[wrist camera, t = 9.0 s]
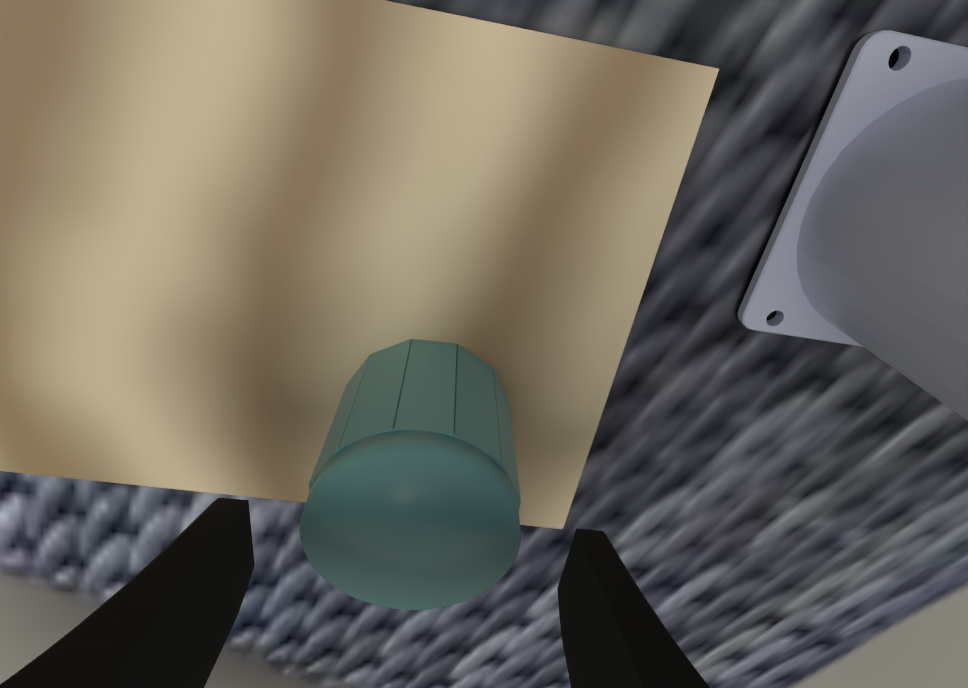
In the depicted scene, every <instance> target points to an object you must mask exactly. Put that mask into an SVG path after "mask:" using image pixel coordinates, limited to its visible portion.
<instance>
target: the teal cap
mask: <svg viewBox="0 0 968 688" xmlns="http://www.w3.org/2000/svg"><path fill="white" fill-rule="evenodd" d="M520 505H521V497H520V489H519V481H518V473H517V464H516V456H515V448H514V440H513V431H512V423H511V415H510V407H509V401H508V398H507V396H506V394H505V392H504V390H503V388H502V385H501V383H500V381H499V379H498V377H497V374H496V372H495V370H494V368H493V367H492V366H490V365H489V364H487V363H486V362H484V361H483V360H481V359H480V358H478V357H477V356H475V355H474V354H472V353H471V352H469V351H468V350H466V349H465V348H463V347H462V346H460V345H459V344H458V345H457V344H455V343H446V342H437V341H429V340H420V339H412V340H411V339H409V340H407V341H404V342H401V343H399V344H396V345H393V346H391V347H388V348H385V349H383V350H380V351H377V352H375V353H372V354H371V355H369V356H368V358H367V359H366V360H365V362H364V363H363V364H362V365H361V367H360V368H359V369H358V371H357V372H356V373H355V374H354V376H353V377H352V378H351V379H350V381H349V382H348V383H347V385H346V387H345V390H344V393H343V395H342V398H341V401H340V403H339V406H338V408H337V411H336V414H335V416H334V419H333V422H332V424H331V427H330V429H329V432H328V435H327V437H326V440H325V443H324V445H323V448H322V450H321V453H320V456H319V458H318V461H317V463H316V466H315V469H314V471H313V474H312V477H311V479H310V482H309V495H308V498H307V500H306V503H305V506H304V509H303V512H302V516H301V519H300V538H301V543H302V546H303V550H304V552H305V554H306V556H307V558H308V560H309V562H310V563H311V564H312V566H313V567H314V568H315V570H316V571H317V572H318V573H319V574H320V575H321V576H322V577H323V578H324V579H325V580H326V581H328V582H329V583H330V584H331V585H333V586H334V587H336V588H337V589H339V590H340V591H342V592H344V593H346V594H348V595H350V596H352V597H354V598H356V599H359V600H362V601H364V602H367V603H371V604H374V605H378V606H383V607H388V608H395V609H405V610H422V609H434V608H440V607H445V606H450V605H454V604H457V603H460V602H463V601H466V600H468V599H471V598H473V597H475V596H477V595H479V594H481V593H483V592H484V591H486V590H488V589H489V588H490V587H492V586H493V585H494V584H496V583H497V582H498V581H499V580H500V579H501V578H502V577H503V576H504V575H505V574H506V573H507V571H508V570H509V569H510V567H511V566H512V564H513V562H514V560H515V558H516V556H517V553H518V550H519V547H520V540H521V528H520V519H519V509H520Z"/></svg>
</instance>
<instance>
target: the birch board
mask: <svg viewBox="0 0 968 688" xmlns="http://www.w3.org/2000/svg"><path fill="white" fill-rule="evenodd" d="M718 71H719V69H717V68H712V67H707V66H703V65H698V64H693V63H688V62H683V61H678V60H673V59H668V58H664V57H659V56H654V55H649V54H644V53H639V52H634V51H629V50H625V49H620V48H615V47H610V46H605V45H600V44H595V43H590V42H586V41H581V40H576V39H571V38H566V37H561V36H556V35H551V34H546V33H542V32H537V31H532V30H527V29H522V28H517V27H512V26H507V25H503V24H498V23H493V22H488V21H483V20H478V19H473V18H468V17H464V16H459V15H454V14H449V13H444V12H439V11H434V10H429V9H425V8H420V7H415V6H410V5H405V4H400V3H395V2H390V1H386V0H0V471H6V472H16V473H26V474H35V475H45V476H55V477H64V478H74V479H83V480H93V481H103V482H112V483H122V484H132V485H141V486H151V487H161V488H170V489H180V490H190V491H199V492H209V493H219V494H228V495H238V496H248V497H257V498H267V499H277V500H286V501H296V502H306V500H307V498H308V495H309V482H310V479H311V477H312V474H313V471H314V469H315V466H316V463H317V461H318V458H319V456H320V453H321V450H322V448H323V445H324V443H325V440H326V437H327V435H328V432H329V429H330V427H331V424H332V422H333V419H334V416H335V414H336V411H337V408H338V406H339V403H340V401H341V398H342V395H343V393H344V390H345V387H346V385H347V383H348V382H349V381H350V379H351V378H352V377H353V376H354V374H355V373H356V372H357V371H358V369H359V368H360V367H361V365H362V364H363V363H364V362H365V360H366V359H367V358H368V356H369V355H371V354H372V353H375V352H377V351H380V350H383V349H385V348H388V347H391V346H393V345H396V344H399V343H401V342H404V341H407V340H409V339H411V340H412V339H420V340H429V341H437V342H446V343H455V344H457V345H458V344H459V345H460V346H462V347H463V348H465V349H466V350H468V351H469V352H471V353H472V354H474V355H475V356H477V357H478V358H480V359H481V360H483V361H484V362H486V363H487V364H489V365H490V366H492V367H493V368H494V370H495V372H496V374H497V377H498V379H499V381H500V383H501V385H502V388H503V390H504V392H505V394H506V396H507V398H508V401H509V407H510V415H511V423H512V431H513V440H514V448H515V456H516V464H517V473H518V481H519V489H520V497H521V505H520V509H519V519H520V525H528V526H537V527H547V528H557V529H563V527H564V524H565V521H566V518H567V515H568V512H569V509H570V506H571V503H572V501H573V498H574V495H575V492H576V489H577V486H578V483H579V480H580V477H581V474H582V471H583V468H584V465H585V462H586V459H587V456H588V453H589V450H590V448H591V445H592V442H593V439H594V436H595V433H596V430H597V427H598V424H599V421H600V418H601V415H602V412H603V409H604V406H605V403H606V400H607V397H608V395H609V392H610V389H611V386H612V383H613V380H614V377H615V374H616V371H617V368H618V365H619V362H620V359H621V356H622V353H623V350H624V347H625V345H626V342H627V339H628V336H629V333H630V330H631V327H632V324H633V321H634V318H635V315H636V312H637V309H638V306H639V303H640V300H641V297H642V294H643V292H644V289H645V286H646V283H647V280H648V277H649V274H650V271H651V268H652V265H653V262H654V259H655V256H656V253H657V250H658V247H659V244H660V241H661V239H662V236H663V233H664V230H665V227H666V224H667V221H668V218H669V215H670V212H671V209H672V206H673V203H674V200H675V197H676V194H677V191H678V188H679V186H680V183H681V180H682V177H683V174H684V171H685V168H686V165H687V162H688V159H689V156H690V153H691V150H692V147H693V144H694V141H695V138H696V135H697V133H698V130H699V127H700V124H701V121H702V118H703V115H704V112H705V109H706V106H707V103H708V100H709V97H710V94H711V91H712V88H713V85H714V82H715V80H716V77H717V74H718Z"/></svg>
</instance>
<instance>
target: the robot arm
mask: <svg viewBox="0 0 968 688" xmlns="http://www.w3.org/2000/svg"><path fill="white" fill-rule="evenodd" d="M896 48H897V49H898V51H899V58H898V61H897V62H896V64H895V65H894V67H892V68H889V65H888V61H889V57H890V55H891V54H892V52H893V51H894V50H895V49H896ZM773 311H777V314H776V315H775V317H774V318H772V319H771V320H767V321H766V319H767V316H768V315H769V314H770V313H771V312H773ZM738 319H739V321H740V322H741V323H742V324H743V325H744V326H745V327H746V328H748V329H751V330H756V331H762V332H769V333H776V334H782V335H789V336H795V337H802V338H809V339H815V340H822V341H829V342H835V343H842V344H849V345H855V346H862V347H864V348H866V349H867V350H869V351H870V352H871V353H873V354H874V355H876V356H877V357H878V358H880V359H881V360H883V361H884V362H885V363H887V364H888V365H890V366H891V367H893V368H894V369H895V370H897V371H898V372H900V373H901V374H902V375H904V376H905V377H907V378H908V379H909V380H911V381H912V382H914V383H915V384H916V385H918V386H919V387H921V388H922V389H923V390H925V391H926V392H928V393H929V394H931V395H932V396H933V397H935V398H936V399H938V400H939V401H940V402H942V403H943V404H945V405H946V406H947V407H949V408H950V409H952V410H953V411H954V412H956V413H957V414H959V415H960V416H962V417H963V418H964V419H966V420H967V421H968V47H963V46H958V45H954V44H949V43H945V42H940V41H936V40H931V39H927V38H922V37H918V36H913V35H909V34H904V33H900V32H895V31H891V30H889V31H873V32H871V33H869V34H867V35H865V36H864V37H863V38H862V39H860V40H859V41H858V42H857V44H856V46H855V47H854V49H853V50H852V53H851V55H850V57H849V59H848V62H847V64H846V66H845V68H844V71H843V73H842V75H841V78H840V80H839V82H838V84H837V87H836V89H835V91H834V94H833V96H832V98H831V100H830V103H829V105H828V107H827V109H826V112H825V114H824V116H823V119H822V121H821V123H820V125H819V128H818V130H817V132H816V134H815V137H814V139H813V141H812V144H811V146H810V148H809V150H808V153H807V155H806V157H805V160H804V162H803V164H802V166H801V169H800V171H799V173H798V175H797V178H796V180H795V182H794V185H793V187H792V189H791V191H790V194H789V196H788V198H787V200H786V203H785V205H784V207H783V210H782V212H781V214H780V216H779V219H778V221H777V223H776V226H775V228H774V230H773V232H772V235H771V237H770V239H769V241H768V244H767V246H766V248H765V251H764V253H763V255H762V257H761V260H760V262H759V264H758V266H757V269H756V271H755V273H754V276H753V278H752V280H751V282H750V285H749V287H748V289H747V292H746V294H745V296H744V298H743V301H742V303H741V305H740V307H739V311H738ZM253 568H254V555H253V545H252V534H251V524H250V513H249V503H248V500H238V499H227V498H218V499H217V500H215V501H214V502H213V503H212V504H211V505H210V506H209V507H208V508H207V509H206V510H205V511H204V512H203V513H202V514H201V515H200V516H199V517H198V518H197V519H195V520H194V521H193V522H192V523H191V524H190V525H189V526H188V527H187V528H186V529H185V530H184V531H183V532H182V533H181V534H180V535H179V536H178V537H177V538H176V539H175V540H174V541H173V542H172V543H171V544H170V545H169V546H167V547H166V548H165V549H164V550H163V551H162V552H161V553H160V554H159V555H158V556H157V557H156V558H155V559H153V560H152V561H151V562H150V563H149V564H148V565H147V566H146V567H145V568H144V569H143V570H141V571H140V572H139V573H138V574H137V575H136V576H135V577H134V578H133V579H132V580H130V581H129V582H128V583H127V584H126V585H125V586H124V587H123V588H121V589H120V590H119V591H118V592H117V593H116V594H114V595H113V596H112V597H111V598H110V599H109V600H107V601H106V602H105V603H104V604H103V605H101V606H100V607H99V608H98V609H97V610H95V611H94V612H93V613H92V614H91V615H90V616H88V617H87V618H86V619H85V620H84V621H82V622H81V623H80V624H79V625H78V626H76V627H75V628H74V629H73V630H72V631H70V632H69V633H68V634H66V635H65V636H64V637H63V638H61V639H60V640H59V641H58V642H56V643H55V644H54V645H53V646H51V647H50V648H49V649H47V650H46V651H45V652H43V653H42V654H41V655H40V656H38V657H37V658H36V659H34V660H33V661H32V662H30V663H29V664H28V665H26V666H25V667H24V668H22V669H21V670H20V671H18V672H17V673H16V674H14V675H13V676H12V677H10V678H9V679H7V680H6V681H5V682H3V683H2V684H0V688H204V686H205V684H206V682H207V679H208V678H209V676H210V673H211V671H212V669H213V667H214V665H215V663H216V660H217V658H218V656H219V654H220V652H221V650H222V648H223V645H224V643H225V641H226V639H227V637H228V635H229V633H230V630H231V628H232V626H233V624H234V622H235V619H236V617H237V615H238V612H239V609H240V607H241V604H242V601H243V598H244V595H245V592H246V589H247V586H248V583H249V580H250V577H251V574H252V571H253ZM558 600H559V614H560V624H561V635H562V641H563V647H564V652H565V657H566V662H567V668H568V673H569V678H570V683H571V688H710V687H709V686H708V685H707V683H706V682H705V681H704V679H703V678H702V677H701V676H700V674H699V673H698V672H697V670H696V669H695V668H694V666H693V665H692V664H691V662H690V661H689V660H688V658H687V657H686V656H685V654H684V653H683V652H682V650H681V649H680V648H679V646H678V645H677V644H676V642H675V641H674V639H673V638H672V637H671V635H670V634H669V632H668V631H667V629H666V628H665V627H664V625H663V624H662V622H661V621H660V619H659V618H658V616H657V615H656V613H655V612H654V610H653V609H652V607H651V606H650V604H649V603H648V602H647V600H646V598H645V597H644V595H643V594H642V592H641V591H640V589H639V588H638V586H637V585H636V583H635V581H634V580H633V578H632V577H631V575H630V573H629V572H628V570H627V569H626V567H625V565H624V564H623V562H622V561H621V559H620V557H619V556H618V554H617V552H616V551H615V549H614V547H613V546H612V544H611V542H610V541H609V539H608V538H607V536H606V534H605V533H604V532H603V531H596V530H584V529H576V532H575V535H574V539H573V542H572V545H571V548H570V551H569V554H568V557H567V560H566V564H565V567H564V570H563V573H562V576H561V579H560V582H559V586H558Z"/></svg>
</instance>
